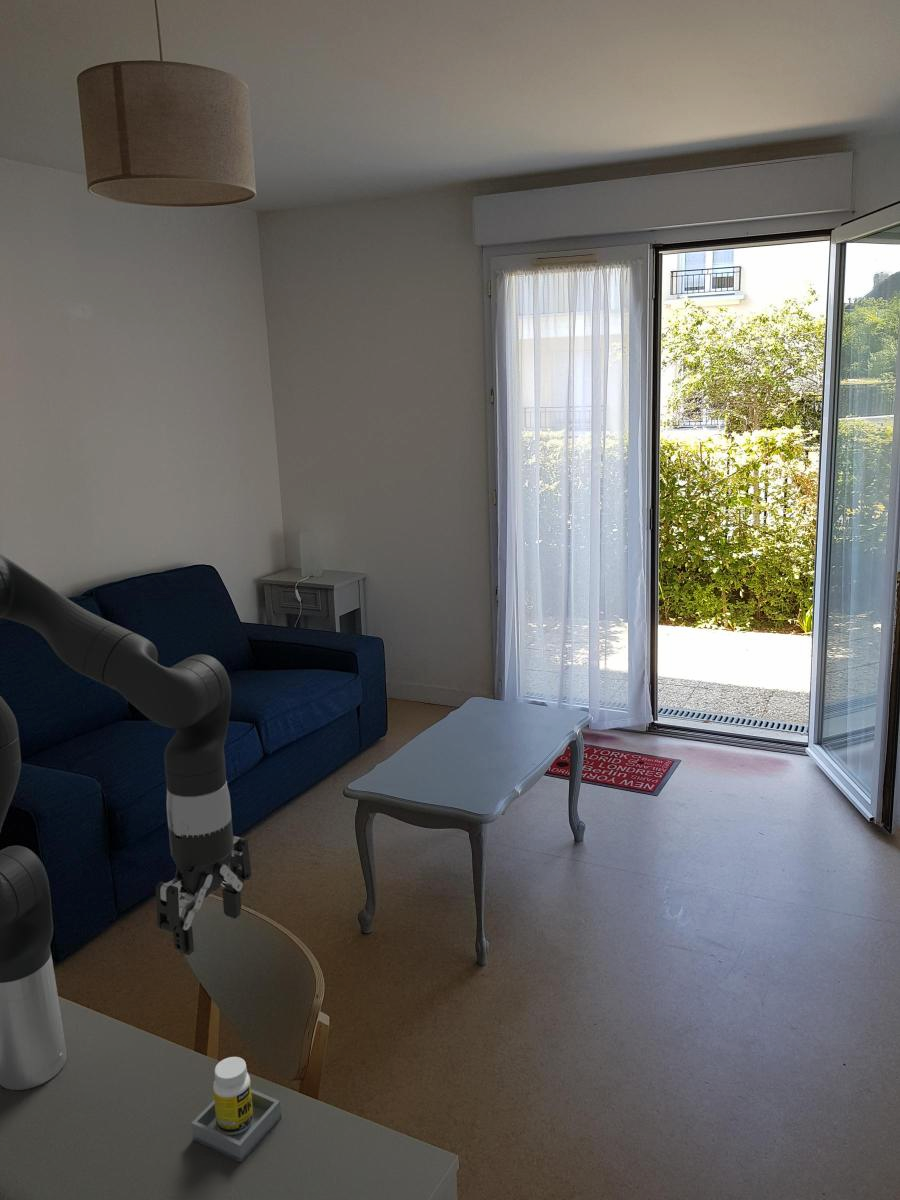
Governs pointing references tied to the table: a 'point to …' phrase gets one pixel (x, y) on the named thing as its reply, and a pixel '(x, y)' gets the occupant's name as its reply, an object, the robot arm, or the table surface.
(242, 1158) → the tray
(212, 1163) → the table surface
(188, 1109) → the table surface
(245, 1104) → the supplement bottle
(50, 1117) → the table surface
